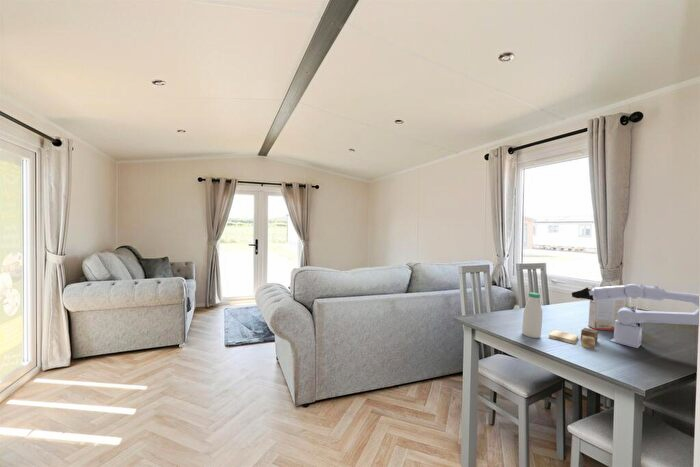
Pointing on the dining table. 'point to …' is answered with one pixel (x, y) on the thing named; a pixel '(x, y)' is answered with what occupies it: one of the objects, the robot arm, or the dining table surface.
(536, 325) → the milk bottle
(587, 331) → the walnut cube
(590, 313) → the cracker box
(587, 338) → the oak cube
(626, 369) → the dining table surface
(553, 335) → the base board
